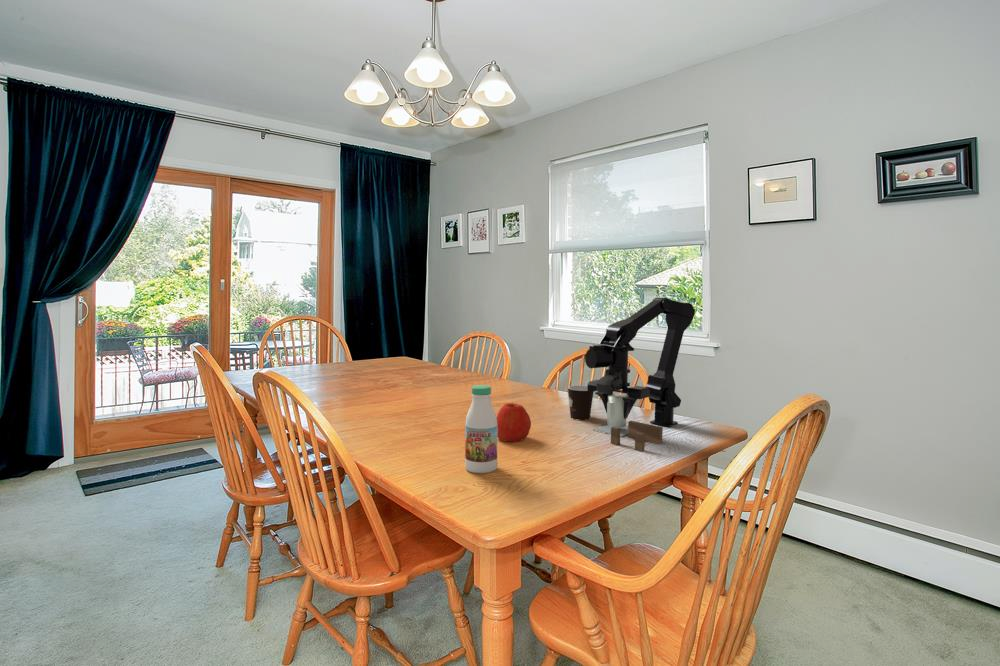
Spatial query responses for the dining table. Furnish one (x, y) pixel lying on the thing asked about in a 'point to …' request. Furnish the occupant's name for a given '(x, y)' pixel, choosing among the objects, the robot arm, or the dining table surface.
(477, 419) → the milk bottle
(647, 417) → the dining table surface
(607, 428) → the slate mat
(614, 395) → the cylinder with square knob
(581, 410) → the coffee mug
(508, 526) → the dining table surface
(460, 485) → the dining table surface
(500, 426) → the apple
